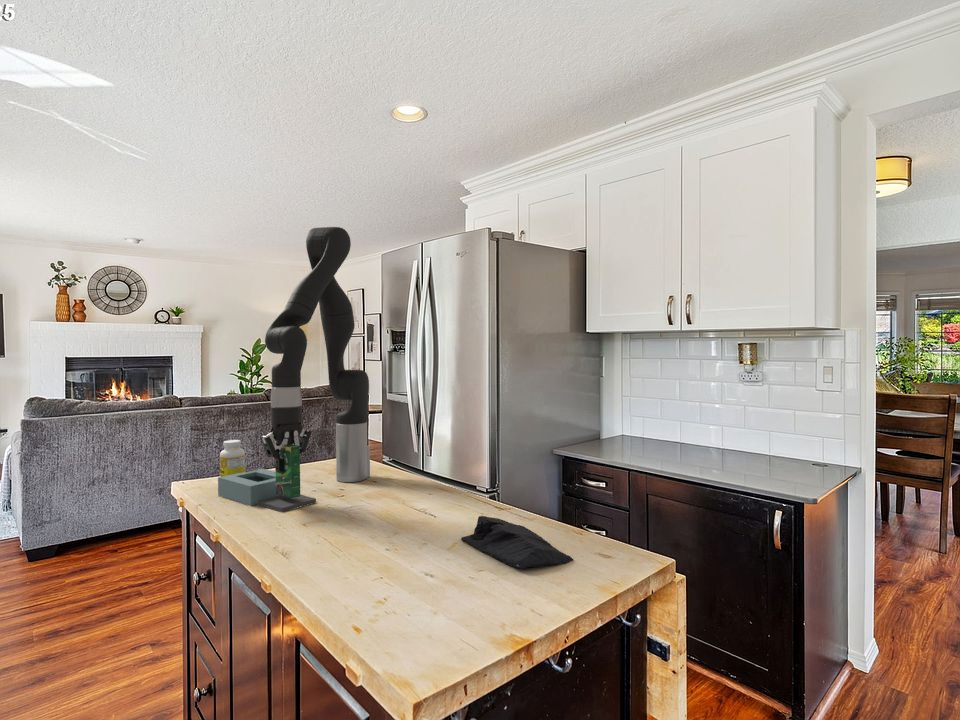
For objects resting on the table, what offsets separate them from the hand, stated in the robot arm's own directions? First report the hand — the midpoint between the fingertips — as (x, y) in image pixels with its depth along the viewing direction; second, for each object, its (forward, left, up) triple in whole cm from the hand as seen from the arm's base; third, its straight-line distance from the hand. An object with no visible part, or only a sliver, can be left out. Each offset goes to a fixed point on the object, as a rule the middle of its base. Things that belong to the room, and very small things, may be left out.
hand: (287, 471), depth 137 cm
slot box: (0, -14, -8) cm, 16 cm away
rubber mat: (0, 0, -8) cm, 8 cm away
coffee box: (0, 0, -6) cm, 6 cm away
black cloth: (-8, +64, -9) cm, 65 cm away
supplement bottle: (-2, -30, -9) cm, 31 cm away
